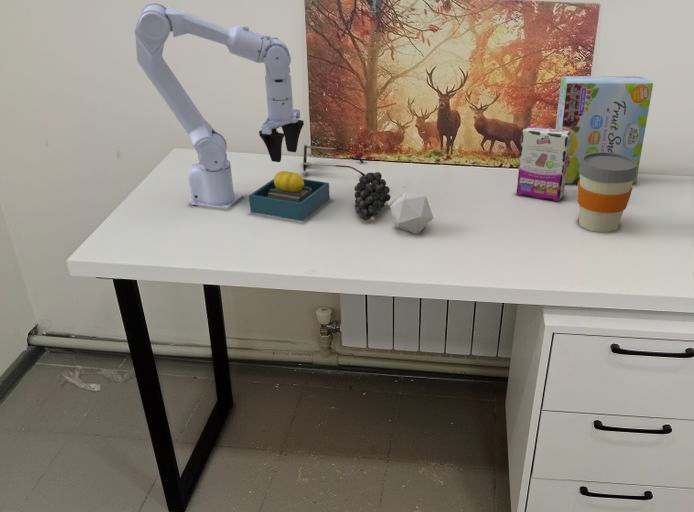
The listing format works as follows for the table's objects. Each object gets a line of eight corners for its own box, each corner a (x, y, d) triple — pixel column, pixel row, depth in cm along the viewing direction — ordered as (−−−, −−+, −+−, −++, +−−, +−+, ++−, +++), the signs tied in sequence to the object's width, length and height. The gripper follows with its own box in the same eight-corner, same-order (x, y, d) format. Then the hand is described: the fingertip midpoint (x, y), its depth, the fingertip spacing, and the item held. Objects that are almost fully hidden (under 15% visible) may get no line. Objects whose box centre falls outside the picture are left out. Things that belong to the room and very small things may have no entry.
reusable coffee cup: (591, 209, 177) (601, 148, 168) (636, 225, 169) (649, 162, 161) (560, 223, 169) (569, 160, 161) (606, 240, 162) (618, 175, 153)
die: (439, 231, 165) (430, 188, 166) (429, 226, 157) (419, 181, 157) (404, 241, 168) (395, 199, 168) (392, 237, 159) (382, 192, 159)
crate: (250, 214, 169) (248, 195, 167) (280, 192, 181) (279, 174, 178) (302, 223, 166) (301, 204, 163) (329, 200, 177) (329, 182, 174)
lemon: (270, 193, 170) (267, 175, 167) (280, 183, 173) (277, 166, 170) (300, 198, 168) (298, 180, 165) (309, 188, 171) (307, 170, 168)
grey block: (268, 207, 171) (267, 191, 169) (283, 197, 177) (281, 181, 174) (299, 213, 169) (298, 196, 167) (312, 202, 174) (311, 185, 172)
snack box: (627, 173, 198) (646, 75, 184) (636, 185, 191) (656, 83, 176) (548, 172, 197) (560, 73, 183) (554, 184, 190) (567, 82, 176)
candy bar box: (563, 195, 184) (572, 130, 174) (559, 202, 180) (568, 136, 171) (520, 188, 187) (527, 124, 178) (515, 195, 183) (522, 129, 174)
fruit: (370, 188, 160) (386, 164, 172) (336, 196, 163) (354, 171, 175) (382, 223, 164) (397, 197, 176) (349, 231, 167) (366, 204, 179)
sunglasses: (304, 161, 200) (304, 143, 197) (362, 164, 202) (363, 146, 199) (303, 179, 188) (303, 160, 186) (365, 182, 191) (366, 163, 188)
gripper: (279, 107, 158) (284, 168, 166) (310, 91, 169) (313, 149, 177) (250, 103, 160) (256, 164, 167) (283, 88, 171) (287, 145, 179)
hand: (284, 156), depth 172 cm, fingers open, 7 cm apart
